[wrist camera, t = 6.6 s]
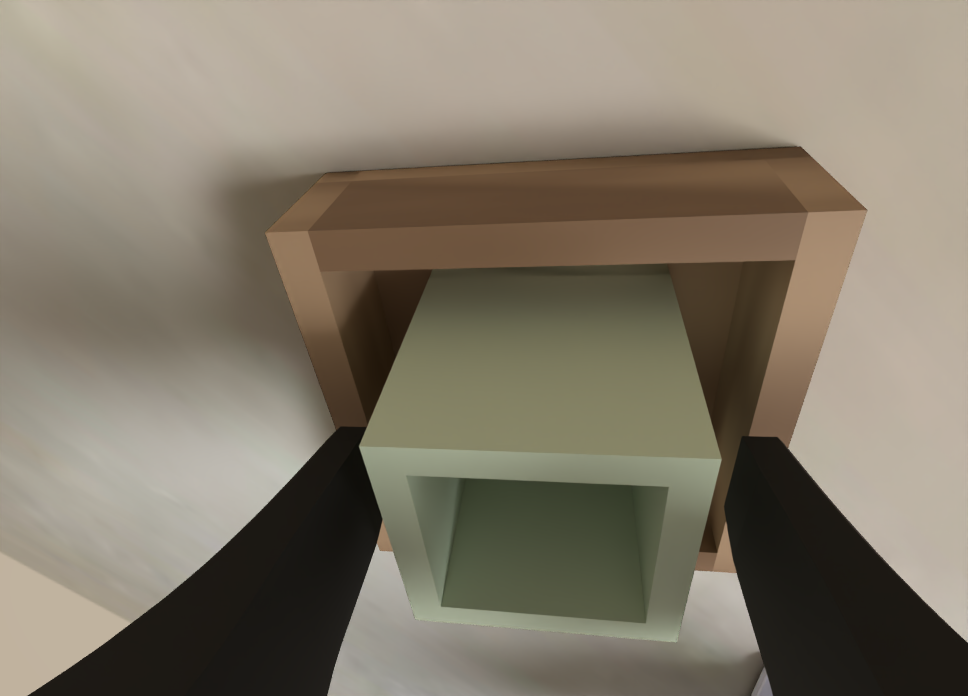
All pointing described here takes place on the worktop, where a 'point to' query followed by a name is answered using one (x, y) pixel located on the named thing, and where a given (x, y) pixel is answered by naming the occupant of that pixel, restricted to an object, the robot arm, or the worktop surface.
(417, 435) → the small crate
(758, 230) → the big crate
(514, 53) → the worktop surface
